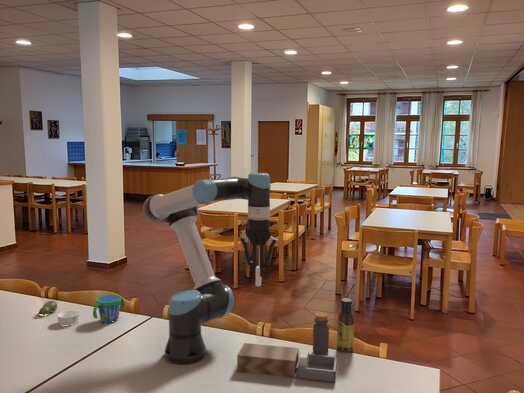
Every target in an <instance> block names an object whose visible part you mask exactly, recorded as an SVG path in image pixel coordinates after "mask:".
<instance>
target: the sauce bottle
mask: <svg viewBox="0 0 524 393" xmlns="http://www.w3.org/2000/svg"><path fill="white" fill-rule="evenodd" d="M340 304H341V309H340V312H339V313H338V316H337V325H336V326H337V327H336V328H337V332H336V333H337V334H336V344H337V345H336V348H337V350H339V351H340V352H343V353H350V352H352V351H353V349H354V343H355V342H354V341H355V340H354V336H355V316H354V313H353V312H352V305H353V300H352V299H351V298H349V297H344V298H342V299H341V301H340Z"/></svg>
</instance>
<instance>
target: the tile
mask: <svg viewBox="0 0 524 393" xmlns="http://www.w3.org/2000/svg"><path fill="white" fill-rule="evenodd" d="M300 353H301V354H300ZM300 353H299V356H300V357H299V367H305V368H308V367H309V354H310V350H309V349H301V351H300Z"/></svg>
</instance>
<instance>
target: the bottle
mask: <svg viewBox="0 0 524 393" xmlns="http://www.w3.org/2000/svg"><path fill="white" fill-rule="evenodd" d="M314 316H315V317H314V319H313V320H314V324H313V326H312V329H313V330H312V354H314V355H325V356H328V354H329V344H330V343H329V342H330V341H329V340H330V339H329V337H330V326H329V319H328V314H327V313H326V312H322V311H321V312H320V311H319V312H315V314H314Z"/></svg>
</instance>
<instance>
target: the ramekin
mask: <svg viewBox="0 0 524 393" xmlns="http://www.w3.org/2000/svg"><path fill="white" fill-rule="evenodd" d="M56 316H57V320H58V325H59V324H61V325H71V324H75V323H77V322H78V323H79V316H80V311H78V310H73V309H71V310H64V311H62V312H59V313H57V315H56ZM78 323H77V324H78ZM75 325H76V324H75Z"/></svg>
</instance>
